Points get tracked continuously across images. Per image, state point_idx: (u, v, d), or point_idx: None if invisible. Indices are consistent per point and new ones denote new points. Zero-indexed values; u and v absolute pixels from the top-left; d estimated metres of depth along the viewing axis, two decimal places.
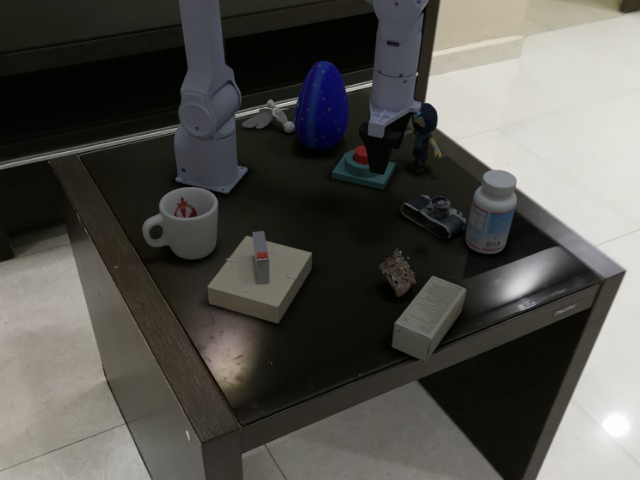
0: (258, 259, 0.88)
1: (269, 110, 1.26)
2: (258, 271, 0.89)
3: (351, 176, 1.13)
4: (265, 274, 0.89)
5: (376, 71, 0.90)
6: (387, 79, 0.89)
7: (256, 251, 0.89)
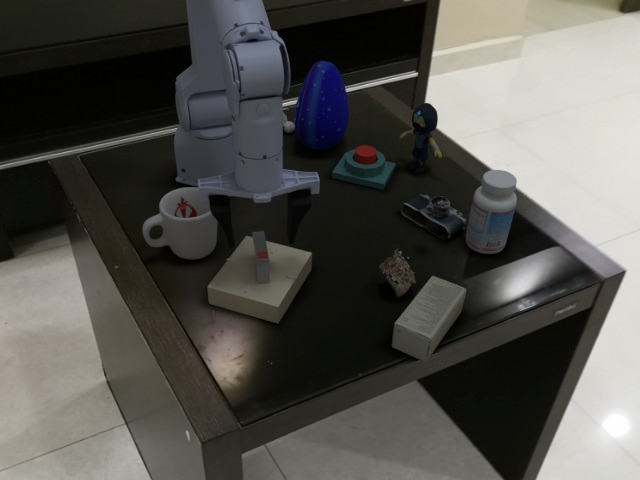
0: (258, 259, 0.88)
1: None
2: (258, 271, 0.89)
3: (351, 176, 1.13)
4: (265, 274, 0.89)
5: None
6: (234, 150, 0.80)
7: (256, 251, 0.89)
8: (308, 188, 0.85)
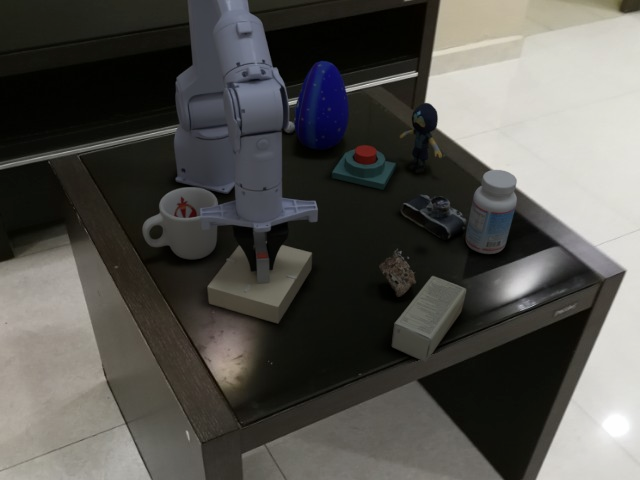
0: (258, 259, 0.88)
1: None
2: (258, 271, 0.89)
3: (351, 176, 1.13)
4: (265, 274, 0.89)
5: None
6: (235, 181, 0.83)
7: (256, 251, 0.89)
8: (306, 216, 0.87)
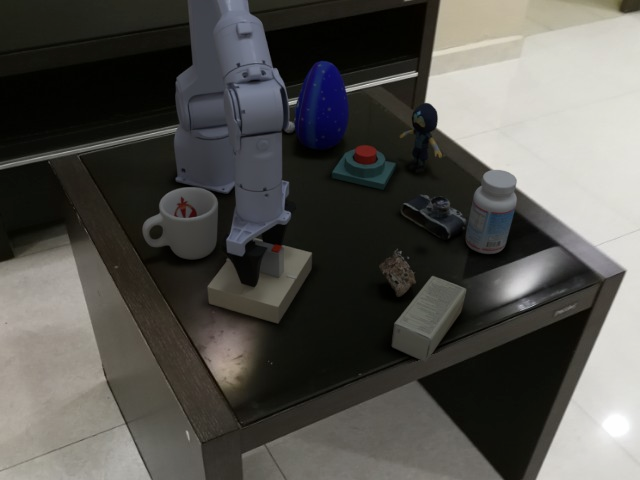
0: (279, 253, 0.89)
1: None
2: (279, 265, 0.90)
3: (351, 176, 1.13)
4: (282, 264, 0.91)
5: (236, 183, 0.82)
6: (247, 192, 0.81)
7: (267, 250, 0.89)
8: None
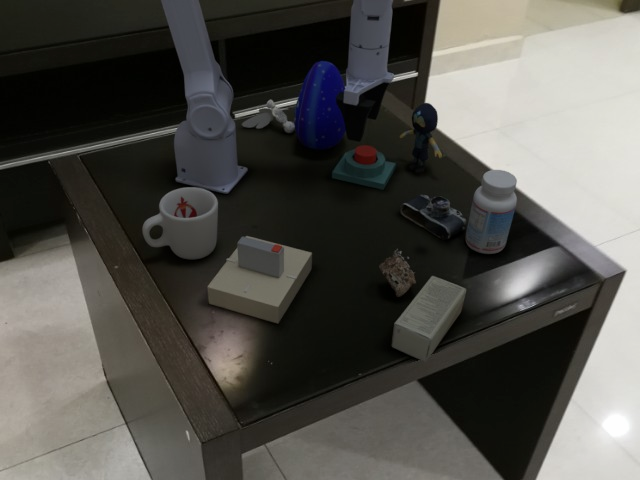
0: (279, 253, 0.89)
1: (269, 110, 1.26)
2: (279, 265, 0.90)
3: (351, 176, 1.13)
4: (282, 264, 0.91)
5: (351, 44, 0.98)
6: (361, 51, 0.97)
7: (267, 250, 0.89)
8: None
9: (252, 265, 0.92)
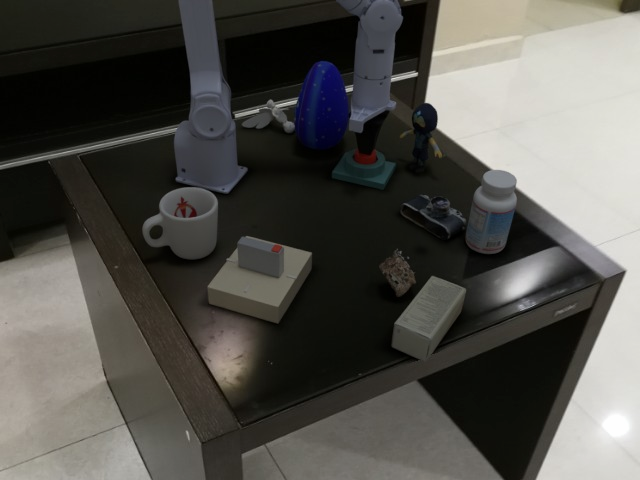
0: (279, 253, 0.89)
1: (269, 110, 1.26)
2: (279, 265, 0.90)
3: (351, 176, 1.13)
4: (282, 264, 0.91)
5: (356, 74, 1.03)
6: (365, 81, 1.03)
7: (267, 250, 0.89)
8: None
9: (252, 265, 0.92)
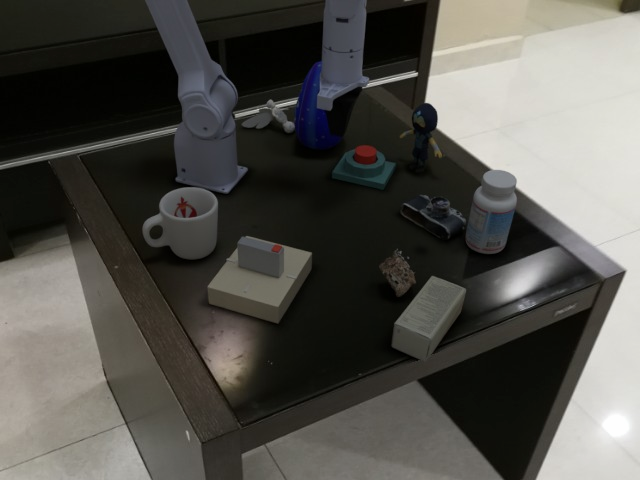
0: (279, 253, 0.89)
1: (269, 110, 1.26)
2: (279, 265, 0.90)
3: (351, 176, 1.13)
4: (282, 264, 0.91)
5: (324, 47, 0.95)
6: (335, 54, 0.94)
7: (267, 250, 0.89)
8: None
9: (252, 265, 0.92)
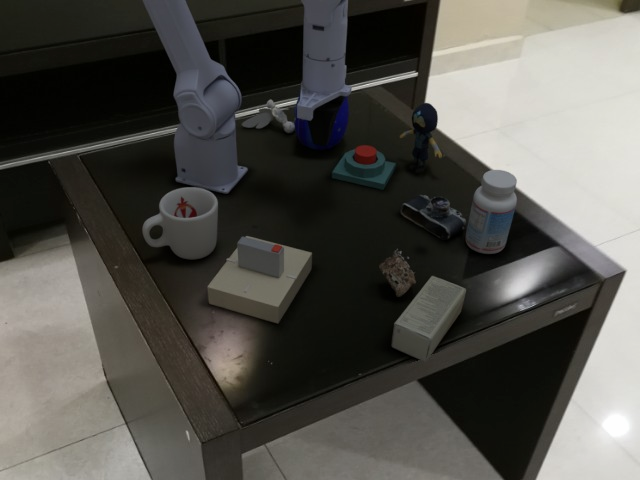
0: (279, 253, 0.89)
1: (269, 110, 1.26)
2: (279, 265, 0.90)
3: (351, 176, 1.13)
4: (282, 264, 0.91)
5: (305, 55, 0.92)
6: (315, 63, 0.92)
7: (267, 250, 0.89)
8: None
9: (252, 265, 0.92)
